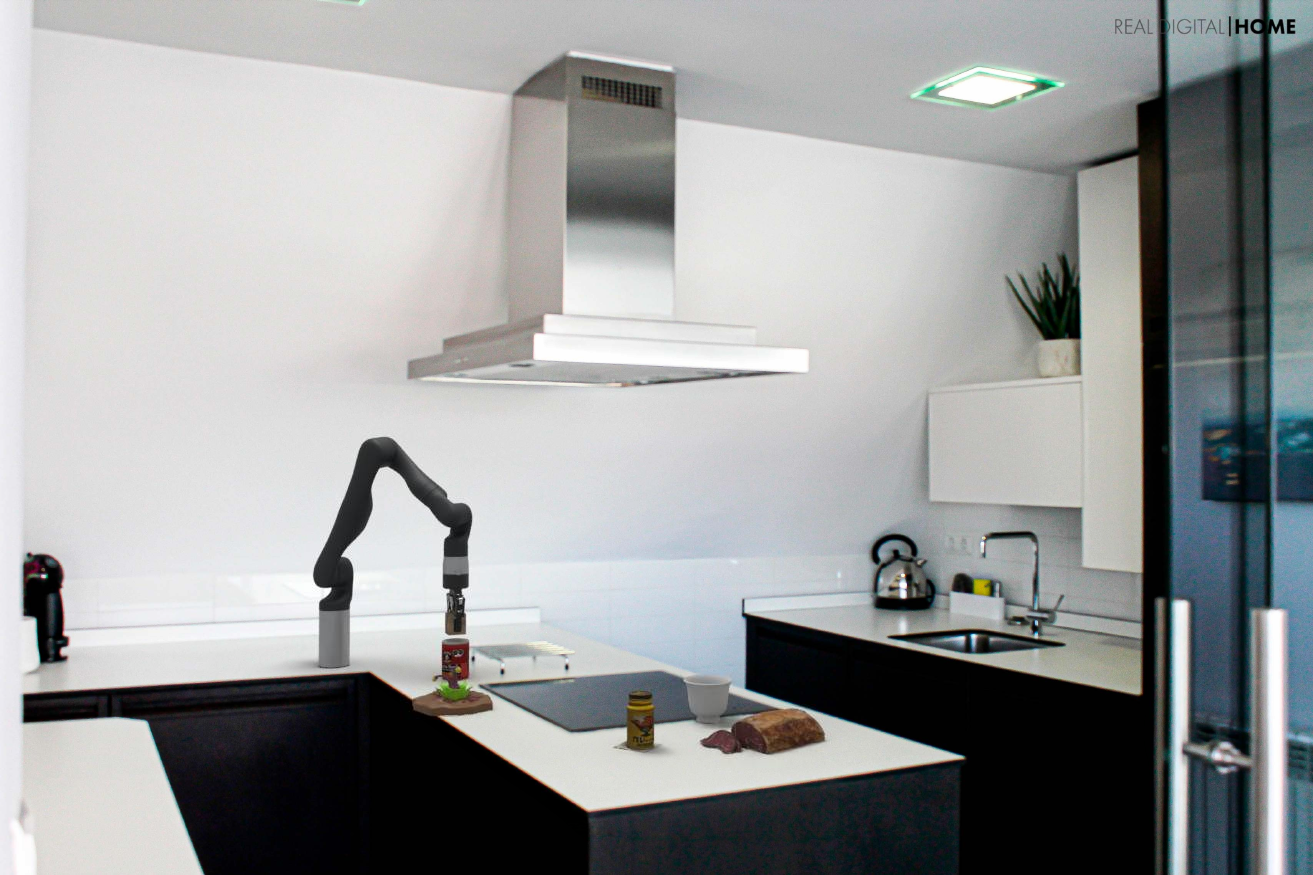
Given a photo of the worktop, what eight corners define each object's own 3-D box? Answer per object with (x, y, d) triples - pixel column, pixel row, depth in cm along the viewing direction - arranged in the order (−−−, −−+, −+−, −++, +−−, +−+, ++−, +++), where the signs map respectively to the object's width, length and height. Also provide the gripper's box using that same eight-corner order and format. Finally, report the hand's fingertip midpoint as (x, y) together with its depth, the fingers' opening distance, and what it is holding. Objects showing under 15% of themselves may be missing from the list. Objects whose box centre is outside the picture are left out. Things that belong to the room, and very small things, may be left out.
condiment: (646, 752, 238) (646, 697, 239) (612, 747, 242) (612, 693, 243) (662, 744, 245) (662, 690, 245) (629, 740, 249) (629, 687, 249)
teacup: (715, 710, 278) (715, 670, 278) (741, 723, 264) (741, 681, 265) (671, 714, 274) (671, 674, 274) (695, 727, 260) (695, 685, 260)
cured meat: (690, 745, 245) (691, 714, 245) (764, 726, 262) (765, 698, 262) (751, 764, 232) (751, 731, 232) (825, 743, 249) (825, 713, 249)
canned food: (436, 679, 318) (436, 641, 318) (453, 674, 325) (453, 637, 325) (457, 681, 314) (457, 643, 314) (474, 676, 321) (474, 639, 321)
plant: (428, 720, 269) (428, 674, 269) (404, 705, 286) (404, 661, 286) (504, 711, 279) (504, 667, 279) (477, 697, 296) (477, 655, 296)
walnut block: (445, 632, 321) (445, 612, 321) (462, 631, 323) (462, 611, 323) (448, 635, 316) (448, 614, 317) (466, 634, 318) (466, 613, 318)
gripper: (437, 569, 325) (437, 627, 325) (448, 574, 312) (448, 634, 312) (462, 568, 328) (462, 626, 328) (474, 573, 315) (474, 633, 315)
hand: (455, 630), depth 320 cm, fingers closed on walnut block, 4 cm apart
